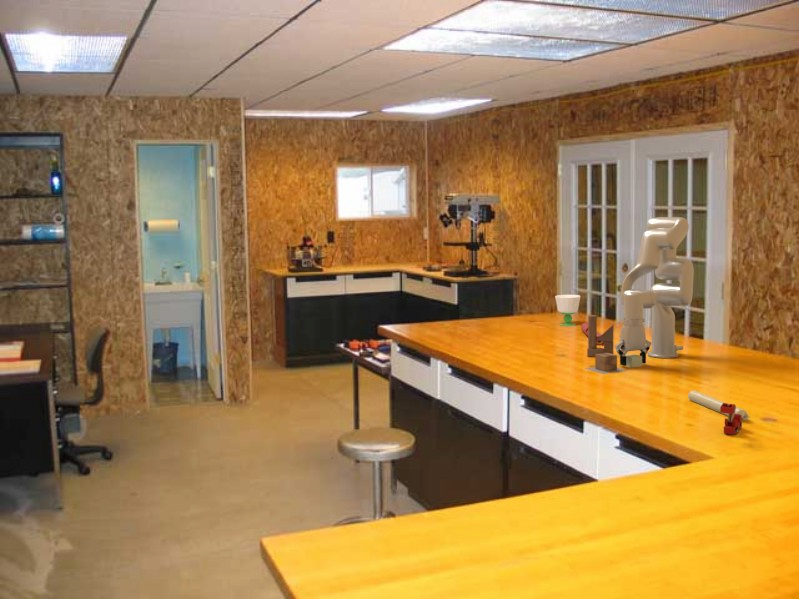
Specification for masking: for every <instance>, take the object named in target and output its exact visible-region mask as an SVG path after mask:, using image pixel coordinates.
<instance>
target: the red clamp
mask: <svg viewBox="0 0 799 599" xmlns="http://www.w3.org/2000/svg"><path fill="white" fill-rule="evenodd" d="M736 407H737V406H736V404H735V403H728V402H725V403H723V404H722V405H721V407H720V412H719V413H720V414H722V413H727V414H729V415H728V416H727V418H724V426H723V434H727V435H737V434H738V433H739V431H740V430H742V426H743V422H742V416H741V415H740V414H735V410H736Z"/></svg>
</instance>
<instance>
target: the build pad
mask: <svg viewBox="0 0 799 599" xmlns="http://www.w3.org/2000/svg"><path fill="white" fill-rule="evenodd" d="M584 369H586V370H588V371H591V372H595V373H599V374H603V375H605V374H612V373H613V374H614V373H620V372H622V373H623V372H627V371H628V369H627V370H626V369H624V368H619V367H617V370H613V371H605V372H604V371H601V370H597V369H595V366H593V367H592V366H591V367H587V368H586V367H584Z"/></svg>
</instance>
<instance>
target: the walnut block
mask: <svg viewBox="0 0 799 599" xmlns="http://www.w3.org/2000/svg"><path fill="white" fill-rule="evenodd" d="M594 360H595V362H594V363H595V365H594V367H595V369H597V370H601V371H604V372H605V371H613V370H617V368H618V355H617V354H614V353H613V354H610V353H602V354H595V359H594Z"/></svg>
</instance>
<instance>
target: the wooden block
mask: <svg viewBox="0 0 799 599" xmlns="http://www.w3.org/2000/svg"><path fill="white" fill-rule="evenodd" d="M587 320H588V321H587V323H588V336H587V337H588V340H587V341H588V343H587V346H588V347H587V351H586V352H587V353H586V354H587V357H591V358H592V357H593V358H594V357H595V354H602V353H610V354H614V324H612V325H610V327H609V328H608V329H607V330H605V331H604V332H603V333H602V334H601V336H600V337H599V338H598V339H597V332H598V331H597V329H598V328H597V326H598V325H597V323H598V315H596V314H590V315H588V319H587ZM597 341H604V345H603V347H598V346H597Z"/></svg>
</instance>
